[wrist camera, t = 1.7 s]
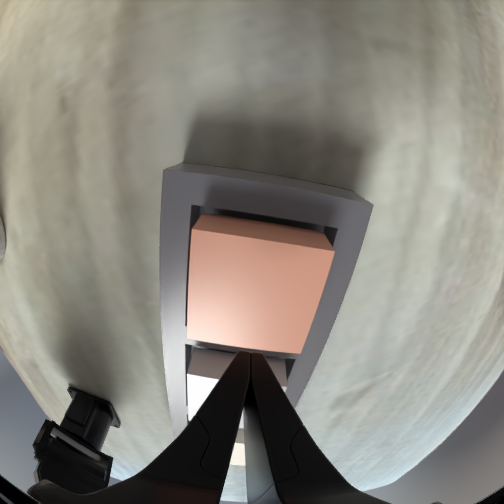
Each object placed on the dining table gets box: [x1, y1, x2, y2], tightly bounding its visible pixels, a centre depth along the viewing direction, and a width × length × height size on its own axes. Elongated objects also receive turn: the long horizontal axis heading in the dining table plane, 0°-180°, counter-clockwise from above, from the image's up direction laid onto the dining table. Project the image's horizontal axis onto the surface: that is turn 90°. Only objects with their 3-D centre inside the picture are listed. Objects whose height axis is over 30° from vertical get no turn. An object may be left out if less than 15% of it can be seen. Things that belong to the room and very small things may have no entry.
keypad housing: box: [160, 163, 373, 439], centre depth 19 cm, size 28×10×3 cm, turn 171°
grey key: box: [187, 347, 287, 429], centre depth 17 cm, size 6×6×2 cm
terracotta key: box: [187, 213, 335, 354], centre depth 13 cm, size 6×6×2 cm
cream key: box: [230, 428, 246, 466], centre depth 21 cm, size 6×6×2 cm
